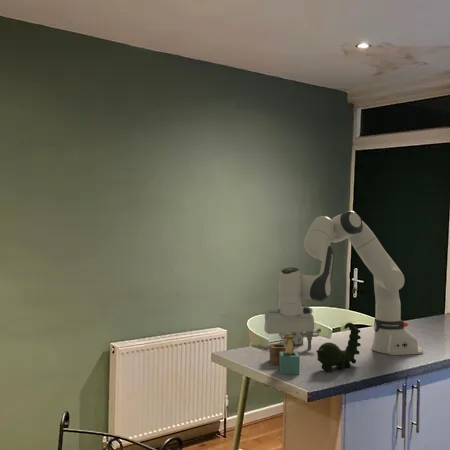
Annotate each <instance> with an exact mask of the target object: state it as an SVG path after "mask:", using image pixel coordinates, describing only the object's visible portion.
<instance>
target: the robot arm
mask: <svg viewBox="0 0 450 450" xmlns="http://www.w3.org/2000/svg"><path fill="white" fill-rule="evenodd" d="M344 240H349V242H350V244H351V245H352V247H353V249H354V250H355V252H356V253H357V254H358V257H360V259H361V260H362V262H363V264H364V265H365V266H366V267H367V269H368V270H369V272H370V273H371V274H372V275H373V287H374V289H373V290H374V296H375V297H374V298H375V318H374V322H373V328H374V337H373V341H372V345H371V347H370V348H371V350H372V351H375V352H378V353H381V354H382V353H383V354H388V355H391V356H392V355H393V356H400V355H420V354H421V355H422V354H423V353H424V350H423V348H422V347H420V346H419V345H418V344H419V343H418V340H417V338H416V336H415V335H413V334H412V333H411V332H410V331H409V330H407V329H406V328H407V327H408V326H409V323H408V322H406V321H404V320H402V319H401V313H402V312H401V308H402V307H401V305H402V304H401V299H400V293H399V290H401V289H402V288H403V287H404V285H405V275H404V274H403V272H402V271H401V269H400V268H399V267H398V265H397V264H396V262H395V261H394V260H393V259H392V258H391V256H390V255H389V254H388V252H387V251H386V250H385V248H384V247H383V245H382V244H381V242H380V241H379V239H378V238H377V236H376V234H374V232H373V231H372V230H371V229H370V227H369V226H368V225H367V224H366V223H365V222H364V221H363V220H362V217H361V216H360V215H359V214H358V213H357V212H355V211H354V210H346V211H344V212H342V213H341V214H338V215H336V216H333V218H330V217H329V216H326V215H321V216H317V217H316V218H314V220H313V221H312V223H311V225H310V226H309V228H308V229H307V233H306V235H305V236H304V240H303V247H304V250H305V251H306V253H307V254H308V255H309V256H311V257H312V258H314V259H316V260H319V261H321V263H320V265H321V266H320V272H319V274H317V275H312V274H311V275H307V274H302V273H300V269H299V268H298V267H290V266H289V267H284V268H283V269H281V270H280V273H279V278H278V293H279V298H278V308H277V309H268V310H267V311H266V312H264V326H263V327H264V332H265V333H266V334H268V335H273V334H274V335H275V334H278V337H279V338H280V339H281V344H287V340H286V339H284V333H294V334H296V335H295V337H294V338H293V344H296V343H297V339H298V337H299V335H300V332H312V331H313V330H314V331H315V318H314V316H313V308H311V307H310V306H306V305H304V304H302V300H301V299H306V300H312V301H316V302H317V301H318V302H324V301H325V300H327V299H328V297H330V295H331V289H332V276H333V268H334V263H335V262H334V261H335V252H334V248H333V247H332V246H331V245H336V244H338V243H340V242H342V241H344Z"/></svg>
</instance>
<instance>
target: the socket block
mask: <svg viewBox="0 0 450 450" xmlns="http://www.w3.org/2000/svg"><path fill="white" fill-rule="evenodd" d="M300 357H301V356H300V354H299V353H298V351H293V356H285V352H279V365H278V366H279V368H278V369H279V372H280V374H281V375H300V362H301V361H300Z"/></svg>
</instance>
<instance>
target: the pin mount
mask: <svg viewBox="0 0 450 450" xmlns="http://www.w3.org/2000/svg"><path fill="white" fill-rule="evenodd" d="M279 352H285V344H282V343H269V362H270V365H272V366H273V365H275V366H276V365H278V366H279Z"/></svg>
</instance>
